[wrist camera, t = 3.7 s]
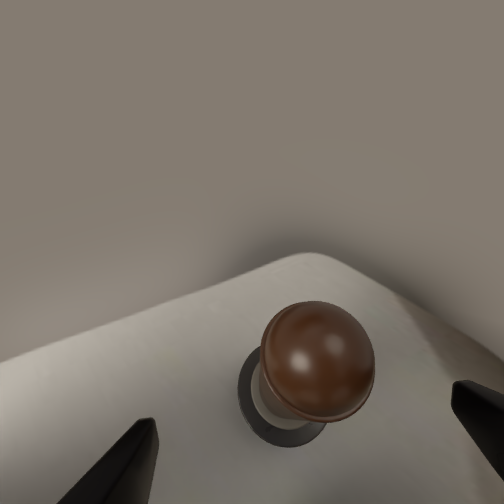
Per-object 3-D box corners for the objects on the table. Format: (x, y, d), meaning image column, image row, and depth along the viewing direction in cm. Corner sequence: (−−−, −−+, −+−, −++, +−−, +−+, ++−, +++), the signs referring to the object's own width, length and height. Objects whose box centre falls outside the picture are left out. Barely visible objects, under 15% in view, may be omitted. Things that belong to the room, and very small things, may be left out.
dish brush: (282, 465, 13) (372, 645, 3) (224, 391, 15) (152, 338, 5) (336, 393, 15) (513, 344, 5) (278, 335, 17) (310, 208, 7)
